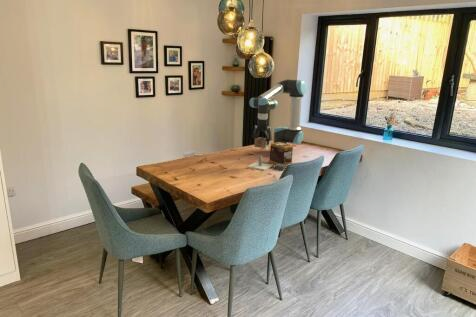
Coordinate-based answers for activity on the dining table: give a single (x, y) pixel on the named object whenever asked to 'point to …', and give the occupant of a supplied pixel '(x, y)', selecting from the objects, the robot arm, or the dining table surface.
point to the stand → (279, 166)
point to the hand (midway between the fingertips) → (261, 148)
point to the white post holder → (260, 165)
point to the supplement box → (281, 153)
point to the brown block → (260, 142)
